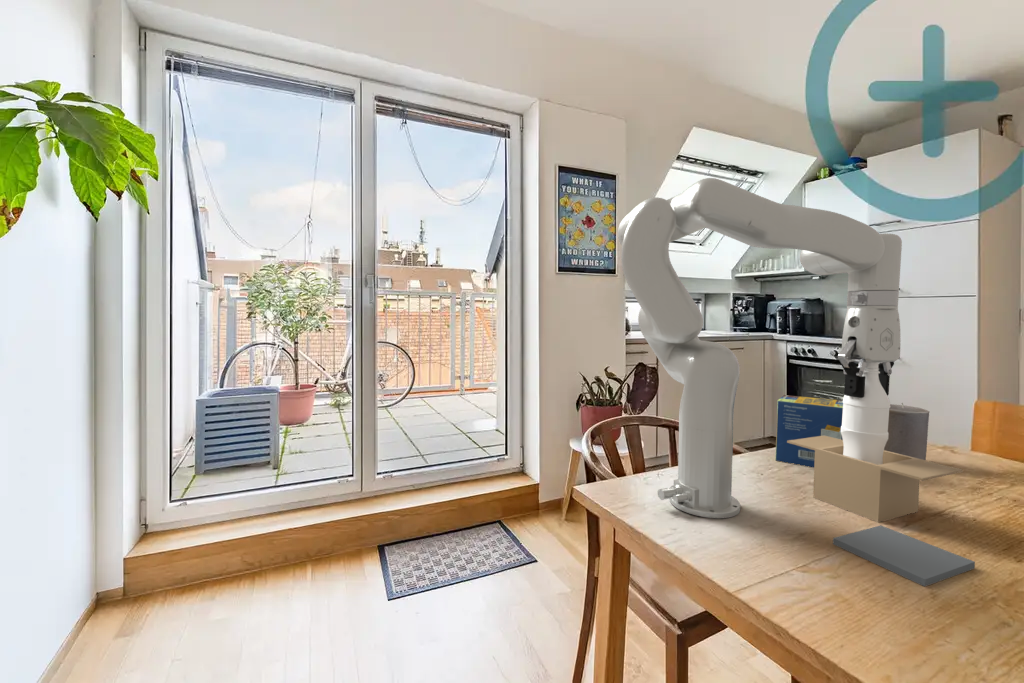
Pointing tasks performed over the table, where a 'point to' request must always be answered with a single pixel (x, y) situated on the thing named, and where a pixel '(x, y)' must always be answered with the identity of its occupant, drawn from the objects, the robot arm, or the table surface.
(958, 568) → the slate mat
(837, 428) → the protein box
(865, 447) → the water bottle
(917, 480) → the carton
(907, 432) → the pillar candle
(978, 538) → the table surface
